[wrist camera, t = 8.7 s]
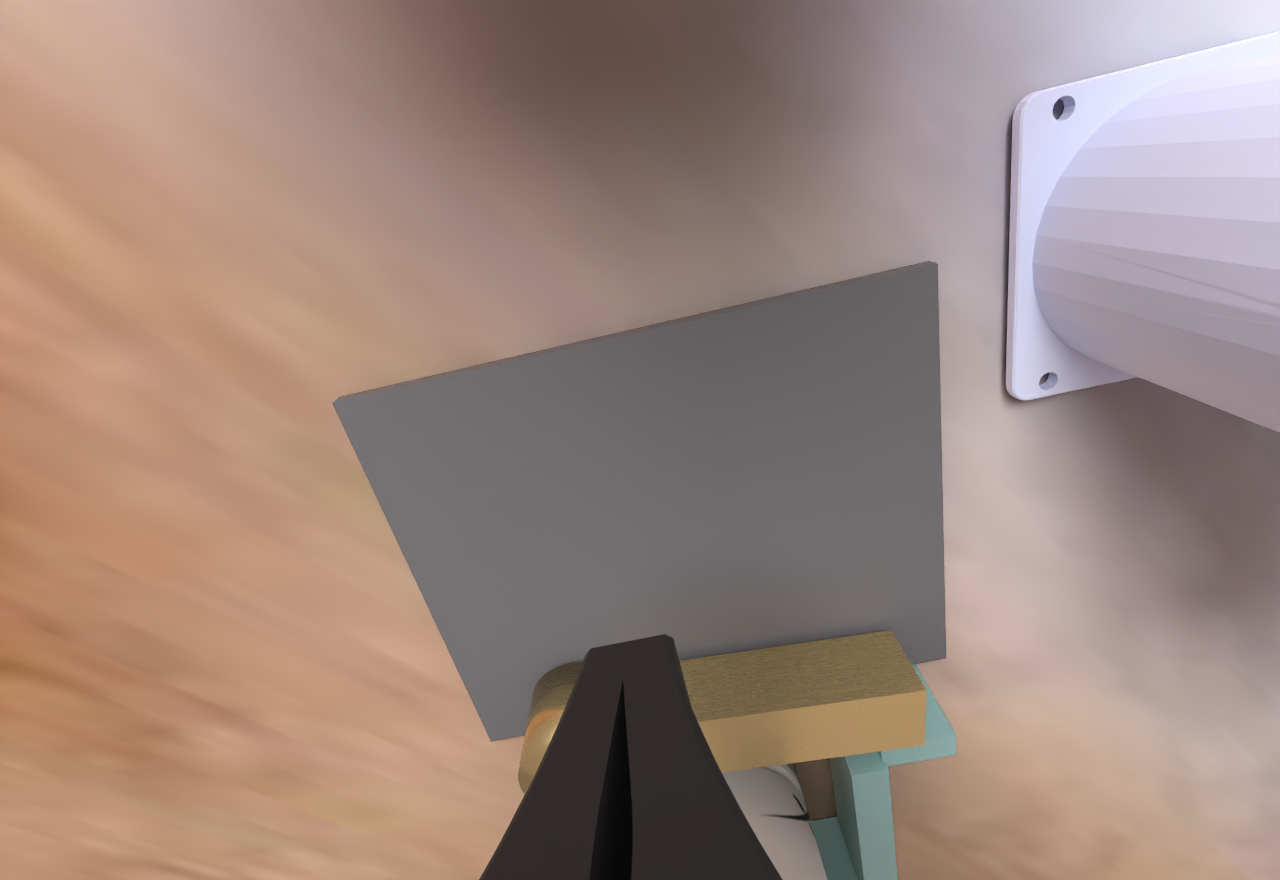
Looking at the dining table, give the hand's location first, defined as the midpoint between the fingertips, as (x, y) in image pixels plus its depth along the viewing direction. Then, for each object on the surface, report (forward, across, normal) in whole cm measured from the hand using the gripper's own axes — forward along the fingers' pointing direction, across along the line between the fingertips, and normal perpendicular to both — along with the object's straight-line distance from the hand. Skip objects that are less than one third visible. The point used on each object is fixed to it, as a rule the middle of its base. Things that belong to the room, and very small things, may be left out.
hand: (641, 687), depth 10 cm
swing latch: (+9, -1, +9) cm, 13 cm away
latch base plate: (+9, 0, +4) cm, 10 cm away
